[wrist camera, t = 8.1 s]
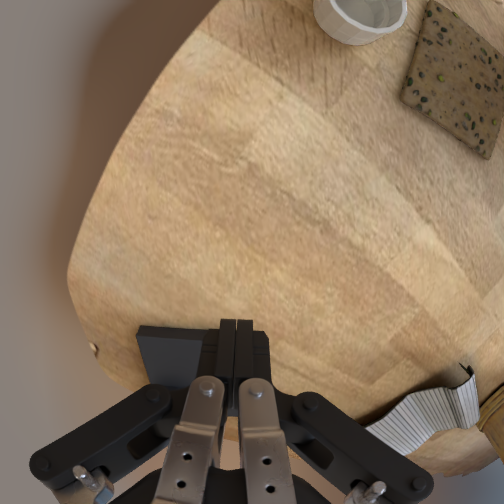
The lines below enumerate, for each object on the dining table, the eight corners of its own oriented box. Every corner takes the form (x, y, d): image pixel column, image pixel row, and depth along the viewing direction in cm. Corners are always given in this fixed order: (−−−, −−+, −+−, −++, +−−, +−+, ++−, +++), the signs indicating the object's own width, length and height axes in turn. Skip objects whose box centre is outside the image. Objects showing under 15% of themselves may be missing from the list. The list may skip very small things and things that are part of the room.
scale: (159, 400, 36) (154, 420, 33) (136, 324, 30) (126, 346, 27) (249, 406, 36) (249, 428, 33) (251, 331, 30) (251, 355, 27)
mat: (329, 429, 40) (333, 453, 36) (462, 352, 33) (476, 374, 29) (377, 459, 48) (381, 477, 43) (474, 404, 41) (483, 421, 37)
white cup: (312, 40, 18) (326, 23, 14) (311, -18, 16) (324, -44, 11) (381, 52, 18) (409, 42, 14) (378, -5, 16) (403, -24, 11)
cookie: (487, 162, 22) (493, 164, 21) (397, 100, 20) (402, 100, 19) (512, 68, 17) (517, 68, 16) (427, -2, 15) (432, -5, 14)
